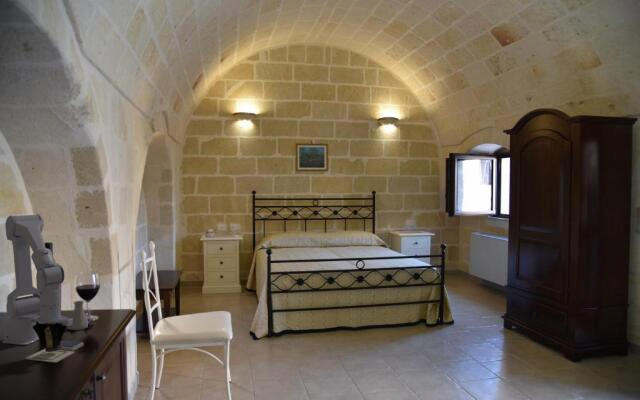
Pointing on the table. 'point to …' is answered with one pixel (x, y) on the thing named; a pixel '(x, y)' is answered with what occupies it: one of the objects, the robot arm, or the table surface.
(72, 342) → the ink pad
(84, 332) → the table surface
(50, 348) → the stamp
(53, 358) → the paper sheet
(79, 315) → the flask
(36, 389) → the table surface
